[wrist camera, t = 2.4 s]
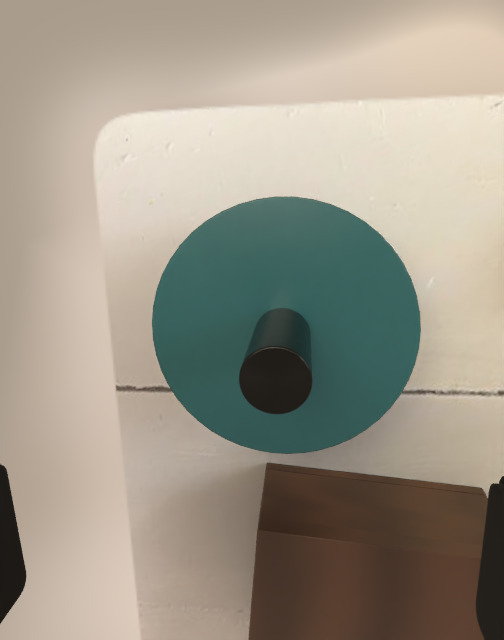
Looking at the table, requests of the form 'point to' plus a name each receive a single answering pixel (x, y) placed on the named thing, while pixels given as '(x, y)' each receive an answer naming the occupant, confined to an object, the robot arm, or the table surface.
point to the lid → (286, 325)
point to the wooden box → (365, 557)
